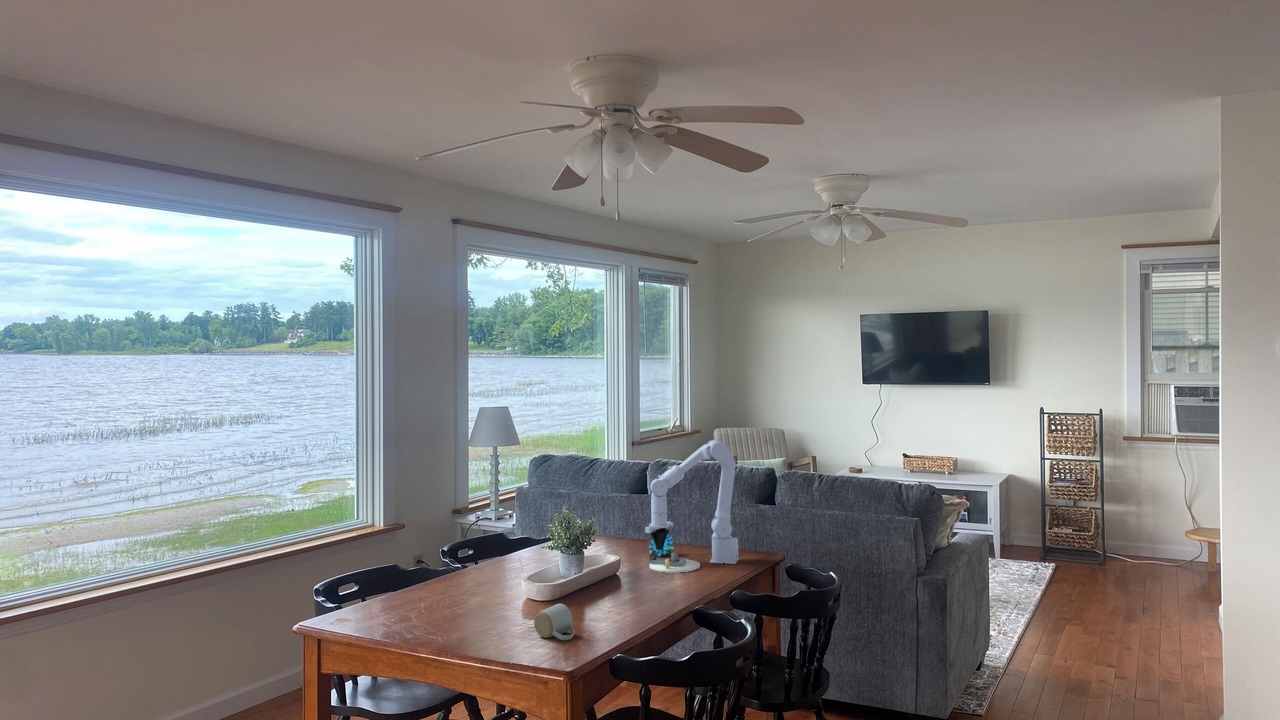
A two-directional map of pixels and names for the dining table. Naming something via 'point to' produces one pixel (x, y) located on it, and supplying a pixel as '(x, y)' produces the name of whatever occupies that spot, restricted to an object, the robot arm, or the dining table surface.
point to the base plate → (687, 567)
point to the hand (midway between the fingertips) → (659, 549)
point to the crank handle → (662, 561)
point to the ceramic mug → (554, 622)
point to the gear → (665, 548)
